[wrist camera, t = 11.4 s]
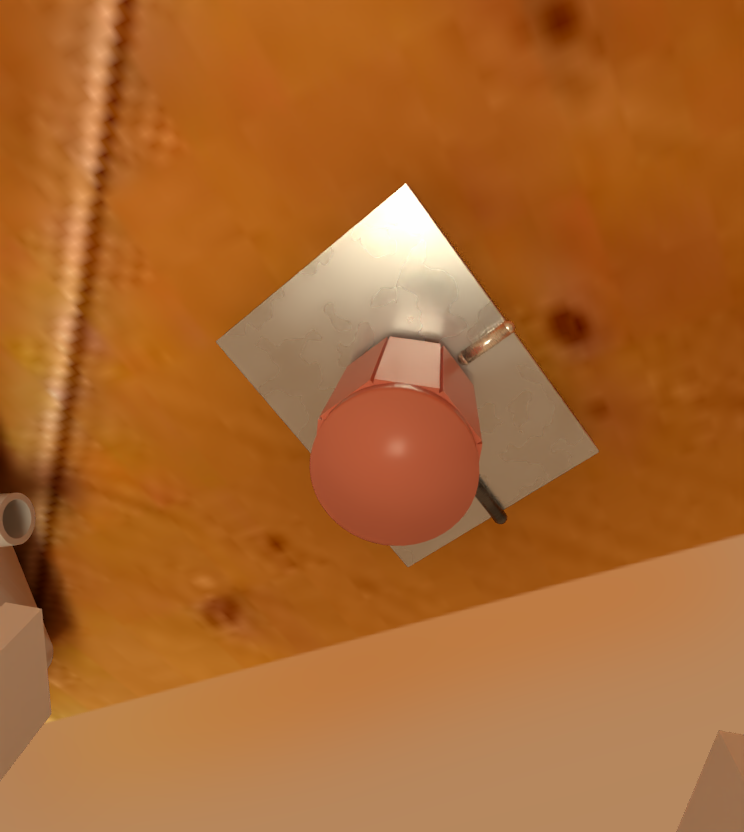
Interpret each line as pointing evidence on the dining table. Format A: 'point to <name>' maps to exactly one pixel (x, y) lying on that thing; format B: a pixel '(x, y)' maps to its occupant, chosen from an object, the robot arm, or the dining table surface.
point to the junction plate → (419, 320)
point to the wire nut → (398, 444)
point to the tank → (3, 577)
